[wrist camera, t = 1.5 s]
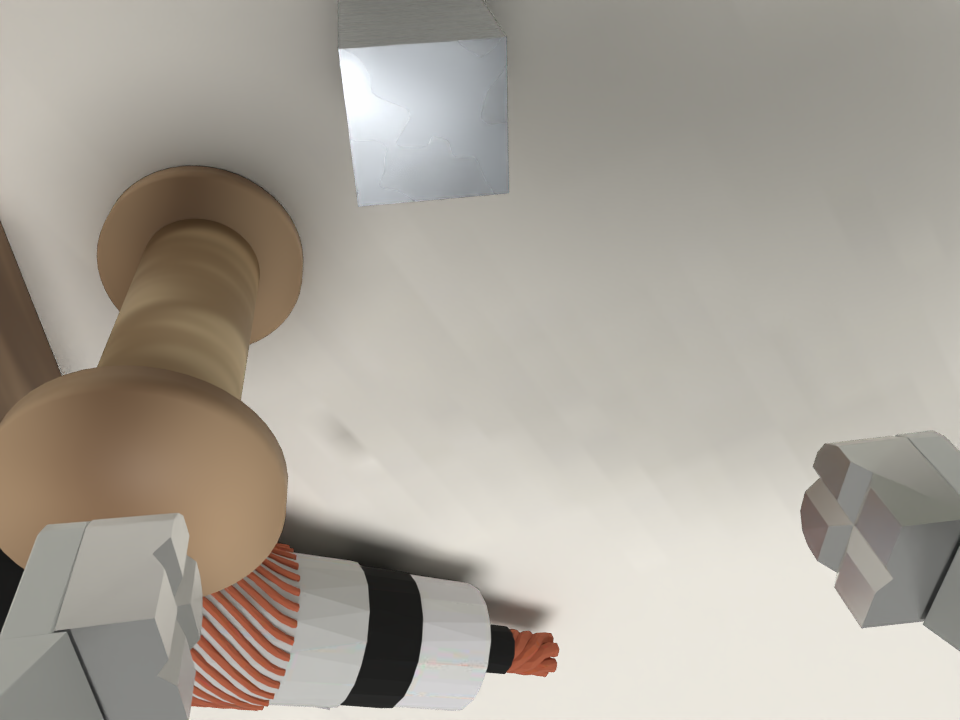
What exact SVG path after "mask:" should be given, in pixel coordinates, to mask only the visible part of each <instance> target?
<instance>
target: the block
mask: <svg viewBox="0 0 960 720" xmlns="http://www.w3.org/2000/svg"><path fill="white" fill-rule="evenodd" d="M338 51H339V59H340V67H341V75H342V83H343V91H344V98H345V106H346V114H347V122H348V130H349V138H350V146H351V154H352V161H353V169H354V177H355V185H356V193H357V201H358V207H360V206H371V205H382V204H393V203H404V202H416V201H427V200H438V199H449V198H460V197H471V196H483V195H494V194H505V193H509V165H508V100H507V37H506V36H505V34H504V32H503V31H502V29H501V28H500V26H499V25H498V23H497V22H496V20H495V19H494V17H493V16H492V14H491V12H490V11H489V9H488V8H487V6H486V5H485V3H484V2H483V0H338Z"/></svg>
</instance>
